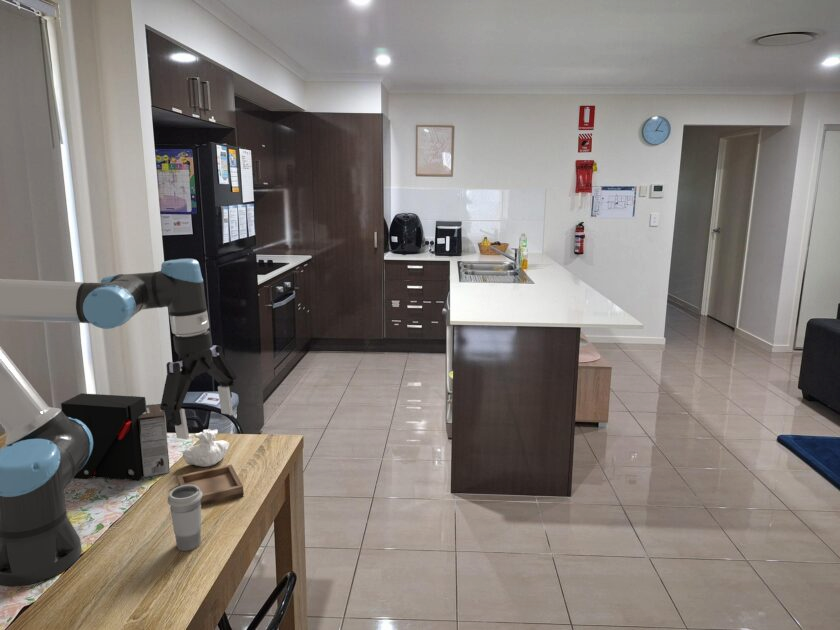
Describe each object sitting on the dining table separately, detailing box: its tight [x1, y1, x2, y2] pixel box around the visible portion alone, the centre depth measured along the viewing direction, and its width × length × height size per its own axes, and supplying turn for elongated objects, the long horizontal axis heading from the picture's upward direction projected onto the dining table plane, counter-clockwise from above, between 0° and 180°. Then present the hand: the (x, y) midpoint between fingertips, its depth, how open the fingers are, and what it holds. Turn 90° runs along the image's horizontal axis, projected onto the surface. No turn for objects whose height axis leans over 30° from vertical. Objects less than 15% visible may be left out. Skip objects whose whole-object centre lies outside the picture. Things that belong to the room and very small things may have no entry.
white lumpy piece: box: [182, 428, 230, 468], centre depth 158 cm, size 12×8×11 cm
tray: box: [177, 464, 245, 507], centre depth 145 cm, size 13×13×2 cm
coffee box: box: [138, 403, 171, 478], centre depth 155 cm, size 9×6×16 cm
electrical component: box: [60, 393, 147, 482], centre depth 152 cm, size 18×10×20 cm, turn 82°
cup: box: [166, 484, 203, 552], centre depth 122 cm, size 7×7×12 cm
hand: (206, 425), depth 132 cm, fingers open, 13 cm apart
